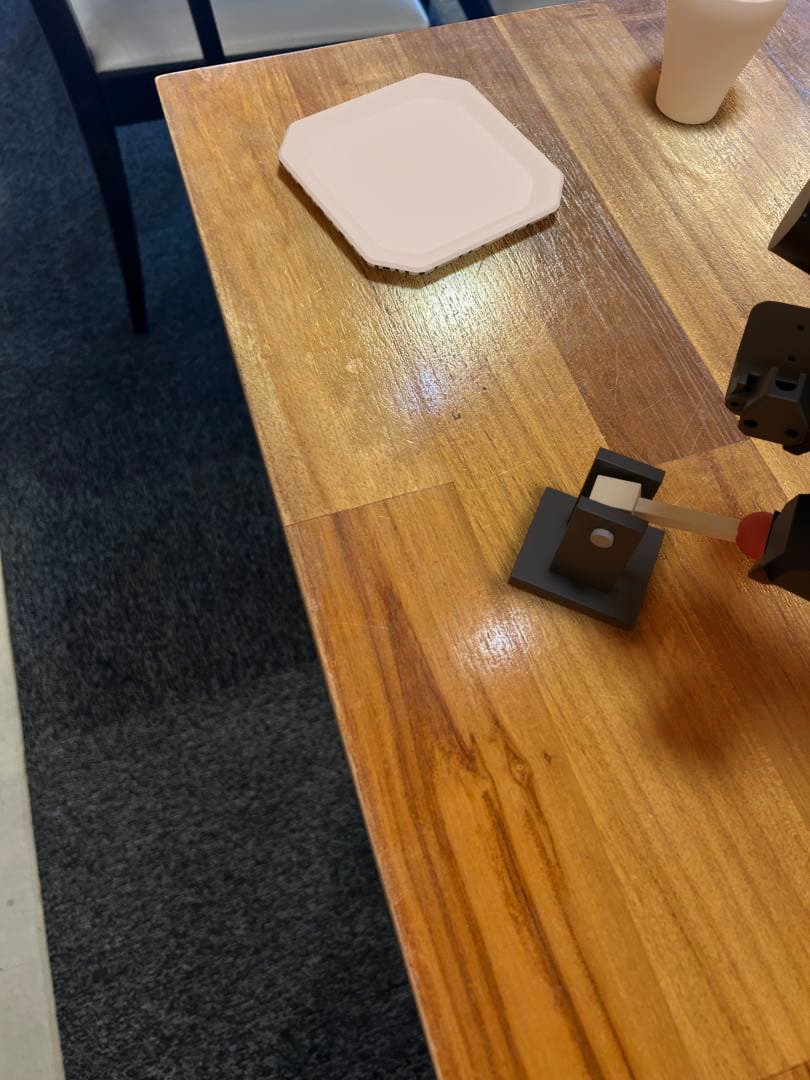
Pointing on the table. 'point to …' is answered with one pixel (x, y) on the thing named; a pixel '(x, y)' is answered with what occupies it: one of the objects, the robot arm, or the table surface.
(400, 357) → the table surface
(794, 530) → the robot arm
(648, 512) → the switch lever
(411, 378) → the table surface
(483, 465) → the table surface
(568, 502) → the switch base
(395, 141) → the plate
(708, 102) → the cup
